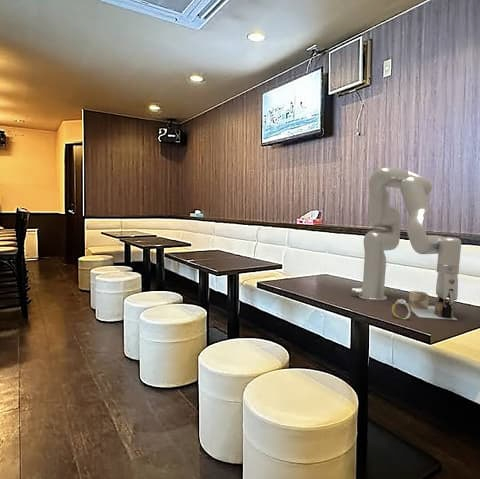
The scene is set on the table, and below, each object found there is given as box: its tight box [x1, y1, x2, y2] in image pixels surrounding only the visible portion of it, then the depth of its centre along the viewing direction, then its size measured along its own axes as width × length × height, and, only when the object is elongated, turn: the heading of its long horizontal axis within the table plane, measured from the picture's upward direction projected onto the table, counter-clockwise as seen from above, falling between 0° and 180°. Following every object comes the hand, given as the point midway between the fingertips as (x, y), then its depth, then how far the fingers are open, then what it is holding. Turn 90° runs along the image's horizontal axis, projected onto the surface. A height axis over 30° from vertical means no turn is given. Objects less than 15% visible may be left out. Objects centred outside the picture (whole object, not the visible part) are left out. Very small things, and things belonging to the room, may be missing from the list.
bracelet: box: [391, 298, 412, 320], centre depth 148 cm, size 7×3×8 cm, turn 37°
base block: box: [408, 290, 430, 309], centre depth 166 cm, size 6×6×6 cm
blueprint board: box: [410, 305, 458, 321], centre depth 160 cm, size 14×21×1 cm
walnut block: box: [434, 300, 455, 318], centre depth 154 cm, size 5×5×5 cm
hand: (443, 314), depth 154 cm, fingers closed on walnut block, 5 cm apart
